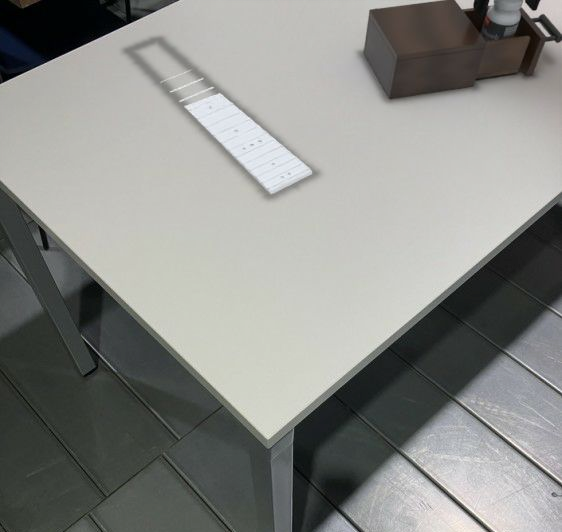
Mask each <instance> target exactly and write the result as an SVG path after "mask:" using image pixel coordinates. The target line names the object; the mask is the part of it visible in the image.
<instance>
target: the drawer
mask: <svg viewBox="0 0 562 532" xmlns="http://www.w3.org/2000/svg"><path fill="white" fill-rule="evenodd" d="M492 5H493V4H492ZM492 5H488V7H487V11H486V14H487V12H488V9H489V8H490V7H491V6H492ZM461 9H462V10H463V12H464V13H465V14H466V16H467V17H468V18H469V20H470V21H471V22H472V24H473V25H474V26H475V28H476V29H477V30H478V32H479V33H480V34H481V31H482V28H483V24H484V21H485V18H486V14H485V16H484V17H483V18H480V17H479V16H478V15H477V13H476V12H475V11H474V8H473V7H470V8H461ZM519 11H520V13H521V17H520V21H519V24H518V27H517V29H516V32H515V35H514V38H509V39H502V40H495V41H488V42H487V44H486V48H485V50H484V54H483V57H482V60H481V63H480V66H479V70H478V73H477V76H476V79H477V80H478V79H483V78H490V77H497V76H498V77H499V76H505V75H511V74H517V73H519V70H521V71H522V72H523V74H524V75H525V76H526V77H530V76H533V74H534V72H535V69H536V67H537V64H538V62H539V59H540V57H541V54H542V52H543V49H544V46H545V44H546V43H547V42H555V43H556V44H560V43H562V33H561V31H560V30H559V29H558V28H557V27H556V25H554V23H553V22H552V21H551V20H550V19H549V17H547V16H546V15H545V14H544V13H541V14H540V15H538V17H530V15H529V14H528V13H527V11H525V9H524V8H523V7H522V6H521V8H520V9H519ZM536 23H539V24H540V25H541V27H542V28H543V30H545V31H546V33H547V34H548V35H549V36H546V35H545V33H544V31H542V29H541V28H540V27H539V26H538V25H537V24H536ZM476 79H475V80H476Z"/></svg>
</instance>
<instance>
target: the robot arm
mask: <svg viewBox="0 0 562 532" xmlns="http://www.w3.org/2000/svg"><path fill="white" fill-rule="evenodd" d="M541 1H542V0H524V3H525V4H526V5H527V6H528V8H529V9H530V10H531V11H532V12H534V11H537V10H538V8H539V5H540V2H541ZM489 4H490V0H473V4H472V8H474V11H475V12H476V13H477V15H478V16H479V17H480V18H483V17H484V16H485V14H486V11H487V7H488V6H489Z"/></svg>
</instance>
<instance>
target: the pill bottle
mask: <svg viewBox="0 0 562 532" xmlns="http://www.w3.org/2000/svg"><path fill="white" fill-rule="evenodd" d="M523 4H524V0H493V4H492V6H491V5H490V6H491V7H490V8H489V9H488V12H487V14H486V18H485V21H484V24H483V28H482V31H481V36H482V37H483V38H484V40H485V41H486V42H488V41H495V40H502V39H509V38H514V35H515V32H516V29H517V27H518V24H519V21H520V17H521V13H520V11H519V9H520V8H521V7H522V6H523Z"/></svg>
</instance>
